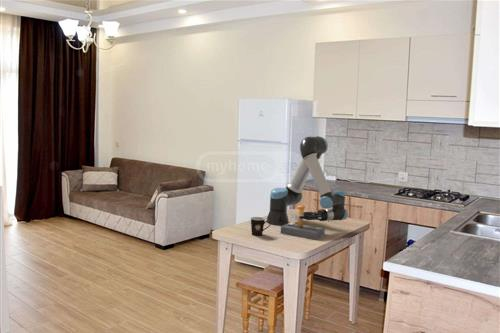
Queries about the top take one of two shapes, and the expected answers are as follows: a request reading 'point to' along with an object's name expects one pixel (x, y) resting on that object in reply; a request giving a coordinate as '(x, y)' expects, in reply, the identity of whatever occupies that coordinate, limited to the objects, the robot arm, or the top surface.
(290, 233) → the switch box
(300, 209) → the switch lever
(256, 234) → the coffee mug
